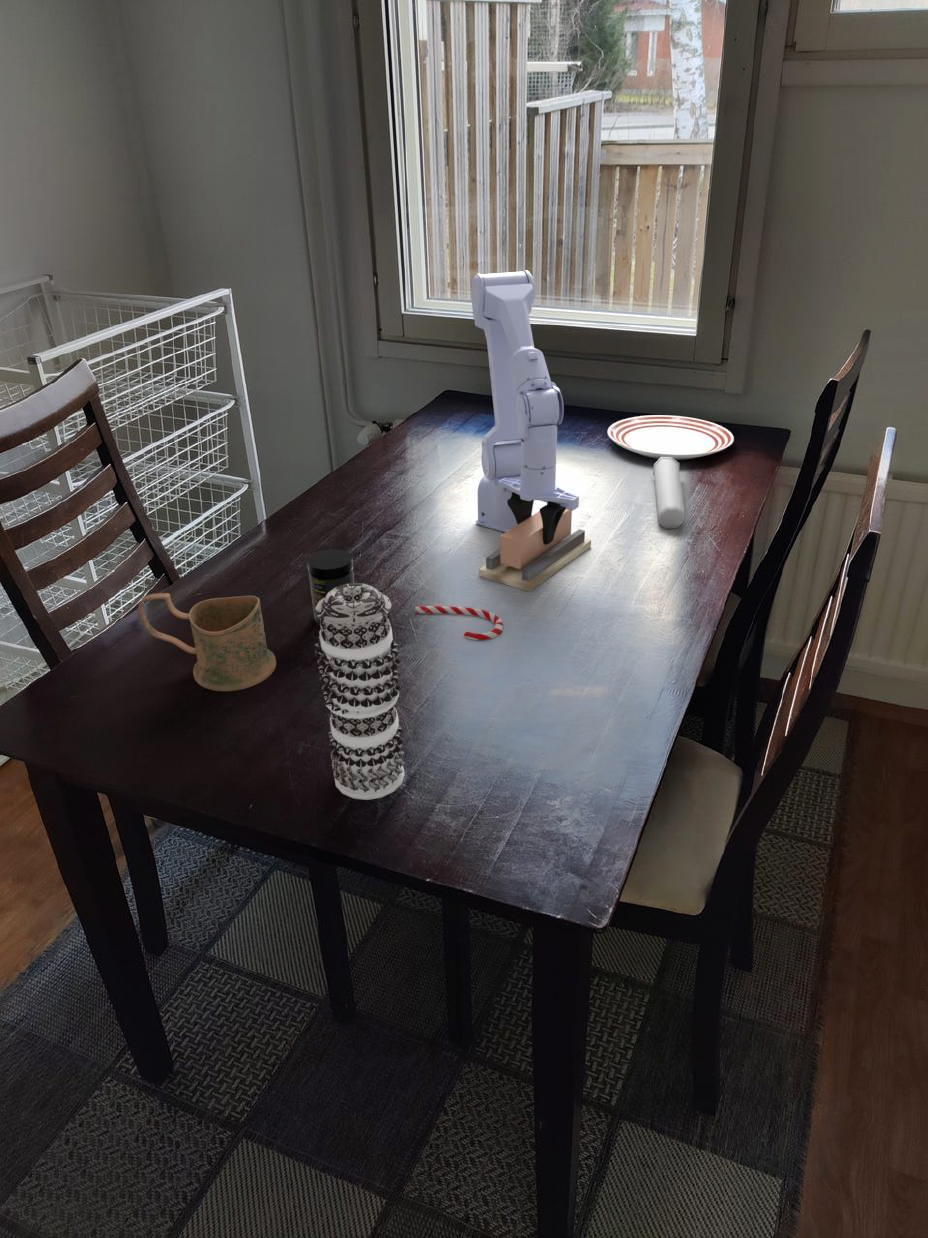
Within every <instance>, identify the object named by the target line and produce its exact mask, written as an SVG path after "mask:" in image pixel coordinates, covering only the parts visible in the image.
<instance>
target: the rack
mask: <svg viewBox="0 0 928 1238" xmlns="http://www.w3.org/2000/svg"><path fill="white" fill-rule="evenodd" d="M585 537H586V531H585V530H583V529H580V528H579V529H576V530H575V531H574V532H573V533H571V535H569V536H568V537H567V538H565V539H564V540H562V541H561V542H559V543H558V544H556V545H555V546H554V547H552V548H551V549H549V550H548V551H546V552H545V553H543V554H542V555H541V556H539V557H538V558H536V559H535V560H533V561H532V562H531V563H529V564H528V565H526V566H525V567H523V568H522V569H517V568H514V567H511V566H508V565H505V564H501V563H500V548H498V549H497V550H496V551H494V552H492V553H490V554H489V555H488V556H486V557H485V564H484V565H483V566H481V567H480V568H479V569H478V576H480V577H482V578H484V579H487V580H492V581H495V582H497V583H500V584H504V585H506V586H510V587H513V588H515V589H519V590H522V591H526V592H531V591H533V589H536V587H538V586H540V584H542V583H544V581H546V580H547V579H549V578H550V577H551V576H553V575H554V574H556V573H557V572H558V571H559V570H561V569H562V568H563V566H564V565H565V566H567V565H568V564H569V563H571V562H573V560H574V559H576V558H577V557H579V556H580V555H581V554H583V553H584V552H585V551H587V550H588V549H589V548H591V547H592V540H591V539H589V538H585ZM590 546H591V547H590ZM568 562H569V563H568ZM567 563H568V564H567ZM565 566H564V567H565Z"/></svg>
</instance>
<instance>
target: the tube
mask: <svg viewBox="0 0 928 1238" xmlns="http://www.w3.org/2000/svg"><path fill="white" fill-rule="evenodd" d="M652 470H653V471H652V476H654V477H653V479H654V488H655V502H656V516H657V517H656V518H657V523H658V524H659V525H661V526H662V527H663V528H665V529H678V528H679V526H681V524H683V523H684V522H685V513H686V510H685V504H684V503H685V502H684V496H683V489H682V481H681V474H680V462H678V460H674V459H673V458H672V457H660V458H659V459H658V458H657V461H656V462H655V463H654V464H653V469H652Z"/></svg>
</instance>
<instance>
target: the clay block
mask: <svg viewBox="0 0 928 1238" xmlns="http://www.w3.org/2000/svg"><path fill="white" fill-rule="evenodd" d="M572 513H573V511H570V510H567V508H566V510H565V511H564V513H563V515H562V517H561V519H560V521H559V523H558V526H557V528H556V531H555V535H554V539H553V541H552V542H551V543H549V544H548V545H545V544H544V543H543V523H542V518H541V514H540V510H539V511H538V512H536V513H534V514H533V515H532V516H531V517H529V518H528V519H526V520H525V521H523V522H521V523H520V524H518V525H517V526H515V527H514V528H512V529H510V530H509V531H507V532H503V534H501V535H500V538H499V542H500V543H499V544H500V546H499V547H500V548H499V549H500V563H501V564H505V565H508V566H511V567H514V568H517V569H522V568H523V567H525V566H526V565H528V564H529V563H531V562H532V561H533V560H535V559H536V558H538V557H539V556H541V555H542V554H543V553H545V552H546V551H548V550H549V549H551V548H552V547H554V546H555V545H556V544H558V543H559V542H561V541H562V540H564V539H565V538H567V537H568V536H569V535H571V534H572V521H573V520H572V518H573V515H572Z"/></svg>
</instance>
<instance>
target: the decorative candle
mask: <svg viewBox="0 0 928 1238" xmlns="http://www.w3.org/2000/svg"><path fill="white" fill-rule="evenodd" d="M392 605H393V604H392V602H391V599H390V598H389V597H388V596H387V595H385V594H384V593H383V592H380V590H378V589H377V588H375V587H374V586H372V585H369V584H367V583H360V582H359V583H358V582H356V583H355V582H354V583H351V584H344V585H341V586H338V587H336V588H334V589H333V590H331V591H330V592H328V594H327V595H326V597H325V598H323V599H322V600H320V601H319V603H318V604H317V606H316V608H315V609H316V615H317V616H318V617H319V620H320V625H319V626H320V630H319V631H318V633H319V636H318V639H319V640H318V641H316V642H314V646H315V647H316V649H315V651H314V655H315V656H316V657H317V659H316V663H317V664H318V671H319V673H320V677H319V681H320V683H322V684H321V686H320V687H321V690H322V691H323V692H322V695H323V696H322V697H323V698H324V704H325V706H326V707H327V708H328V710H330V717H329V724H330V730H329V731H328V734H327V735H328V737H329V747H330V749H331V750H330V759H331V767H332V768H331V769H332V771H333V778H334V783H335V787H336V788H337V789H338V791H340V793H341V794H343V795H345V796H347V797H349V798H352V799H354V800H366V801H368V800H374V799H381V798H383V797H386V796H388V795H390V794H392V793H394V792H395V791H396V790H397V789H398V788H399V787H400V786H401V785H402V784H403V782H404V778H405V775H406V773H405V772H406V771H405V769H404V766H405V765H406V763H405V761H403V757H404V755H405V752H404V751H403V750H402V748H403V743H404V739H403V738H402V733H403V728H402V727H401V721H400V720H399V715H398V711H397V701H398V699H399V697H400V690H401V686H400V684H399V678H400V672H399V671H398V667H399V664H400V663H401V660H400V658H399V657H398V654H399V650H400V646H399V644H397V642H396V640H395V639H394V638H393V630H392V629H393V628H392V626H391V623H390V613H389V612H390V610H391V608H392V607H393V606H392ZM323 652H324V653H323Z"/></svg>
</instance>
